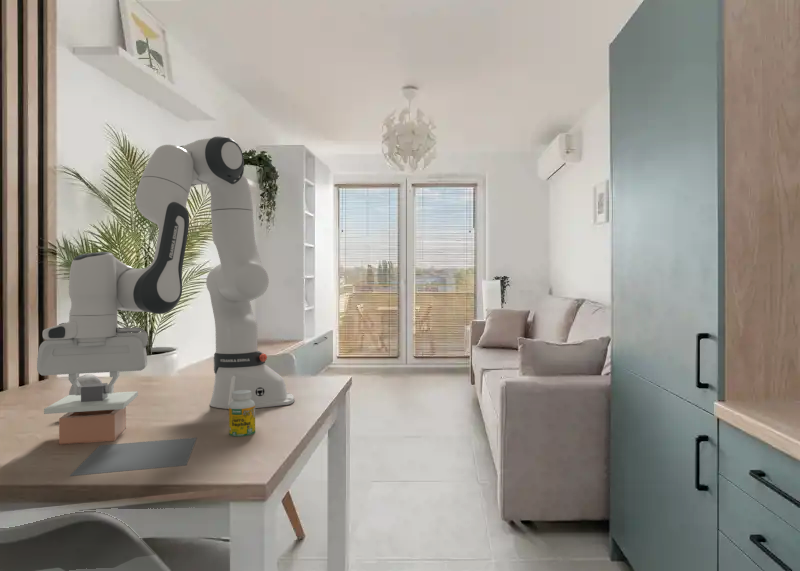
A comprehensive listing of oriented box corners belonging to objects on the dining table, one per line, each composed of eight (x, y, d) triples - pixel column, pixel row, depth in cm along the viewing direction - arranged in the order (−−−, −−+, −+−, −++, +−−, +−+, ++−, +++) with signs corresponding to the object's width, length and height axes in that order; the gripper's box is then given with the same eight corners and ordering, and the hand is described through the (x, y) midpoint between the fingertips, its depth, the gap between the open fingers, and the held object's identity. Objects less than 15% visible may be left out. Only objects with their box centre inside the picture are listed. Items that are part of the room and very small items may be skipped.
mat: (196, 441, 110) (196, 437, 110) (186, 469, 93) (186, 465, 93) (99, 449, 105) (99, 445, 105) (69, 480, 88) (69, 475, 88)
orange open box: (126, 431, 118) (125, 404, 118) (114, 444, 109) (114, 414, 109) (75, 435, 116) (75, 407, 116) (59, 448, 106) (59, 418, 106)
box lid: (137, 395, 121) (137, 378, 121) (123, 408, 107) (123, 389, 107) (68, 399, 117) (68, 381, 117) (44, 414, 104) (44, 393, 104)
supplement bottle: (255, 432, 117) (255, 388, 117) (254, 439, 111) (254, 393, 111) (230, 434, 115) (229, 389, 115) (227, 441, 110) (227, 394, 110)
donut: (77, 418, 132) (76, 377, 132) (65, 417, 132) (64, 377, 132) (107, 409, 141) (106, 371, 141) (95, 408, 142) (95, 371, 142)
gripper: (150, 326, 118) (151, 388, 118) (45, 329, 113) (45, 394, 113) (144, 328, 112) (145, 393, 112) (33, 331, 107) (33, 400, 107)
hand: (94, 394), depth 112 cm, fingers closed on box lid, 4 cm apart
